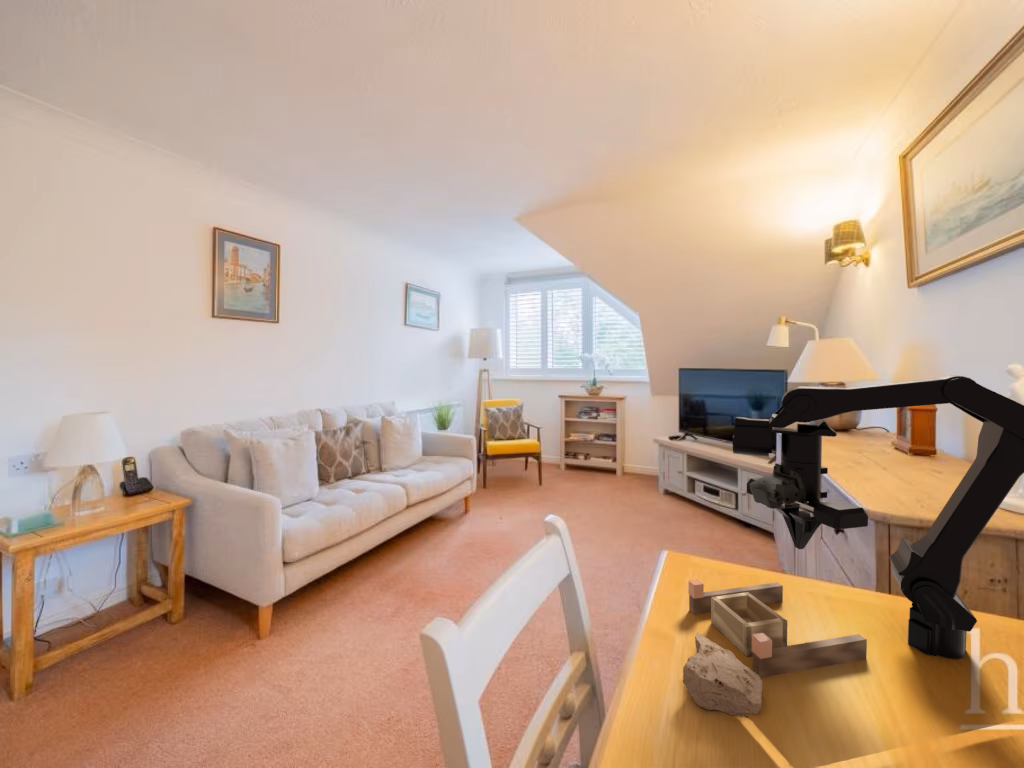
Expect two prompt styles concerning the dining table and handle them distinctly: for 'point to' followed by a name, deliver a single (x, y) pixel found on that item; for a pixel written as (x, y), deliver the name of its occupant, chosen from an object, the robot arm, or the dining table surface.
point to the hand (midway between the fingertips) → (799, 548)
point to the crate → (747, 620)
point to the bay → (788, 656)
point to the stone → (721, 680)
